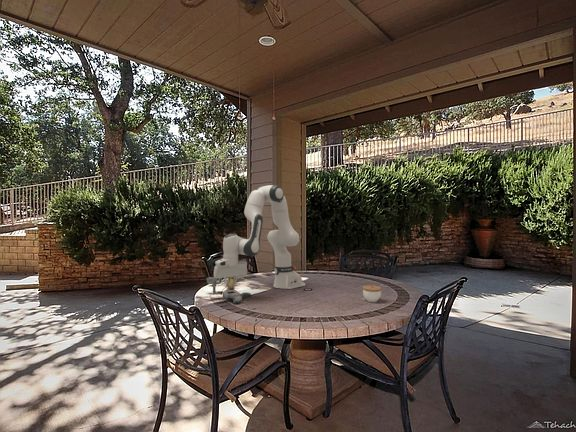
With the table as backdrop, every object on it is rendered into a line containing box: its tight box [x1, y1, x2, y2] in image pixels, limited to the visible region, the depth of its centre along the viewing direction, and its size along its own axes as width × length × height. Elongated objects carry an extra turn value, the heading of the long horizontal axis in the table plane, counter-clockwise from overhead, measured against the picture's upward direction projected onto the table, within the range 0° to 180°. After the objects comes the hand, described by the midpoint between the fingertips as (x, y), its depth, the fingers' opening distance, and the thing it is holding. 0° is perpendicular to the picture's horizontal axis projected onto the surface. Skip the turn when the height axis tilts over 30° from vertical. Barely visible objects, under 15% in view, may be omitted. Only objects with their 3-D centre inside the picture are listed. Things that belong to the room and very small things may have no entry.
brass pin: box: [227, 277, 235, 291], centre depth 201 cm, size 3×3×8 cm
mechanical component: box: [205, 276, 223, 295], centre depth 215 cm, size 3×10×10 cm, turn 79°
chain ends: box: [222, 290, 252, 305], centre depth 200 cm, size 16×16×4 cm
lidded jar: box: [362, 284, 382, 303], centre depth 196 cm, size 11×11×9 cm
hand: (231, 284), depth 201 cm, fingers closed on brass pin, 3 cm apart
